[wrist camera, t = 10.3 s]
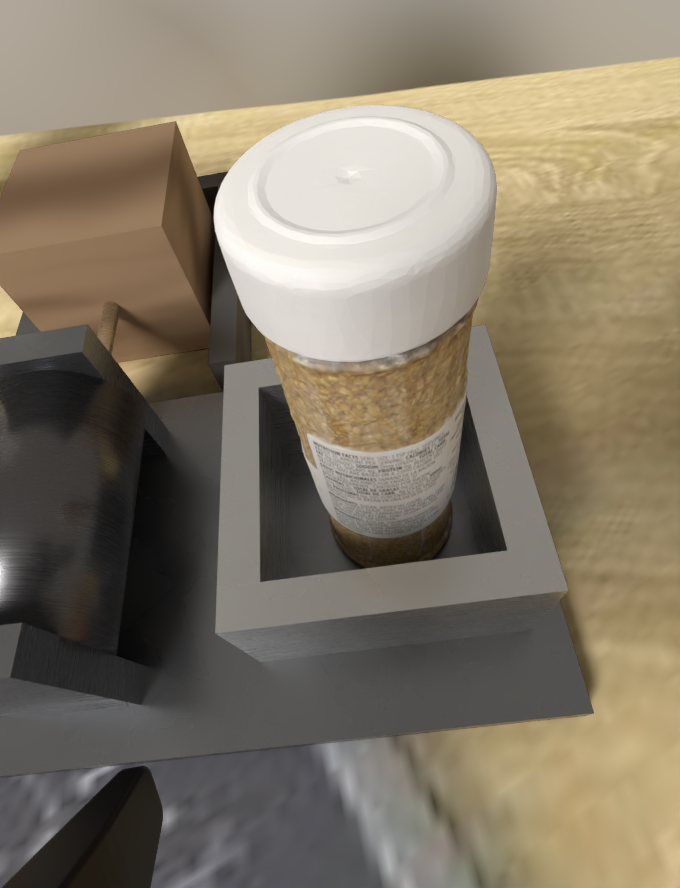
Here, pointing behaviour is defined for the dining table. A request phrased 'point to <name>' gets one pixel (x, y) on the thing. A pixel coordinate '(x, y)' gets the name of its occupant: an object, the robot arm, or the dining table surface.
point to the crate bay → (121, 246)
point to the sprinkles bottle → (367, 306)
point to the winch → (247, 575)
